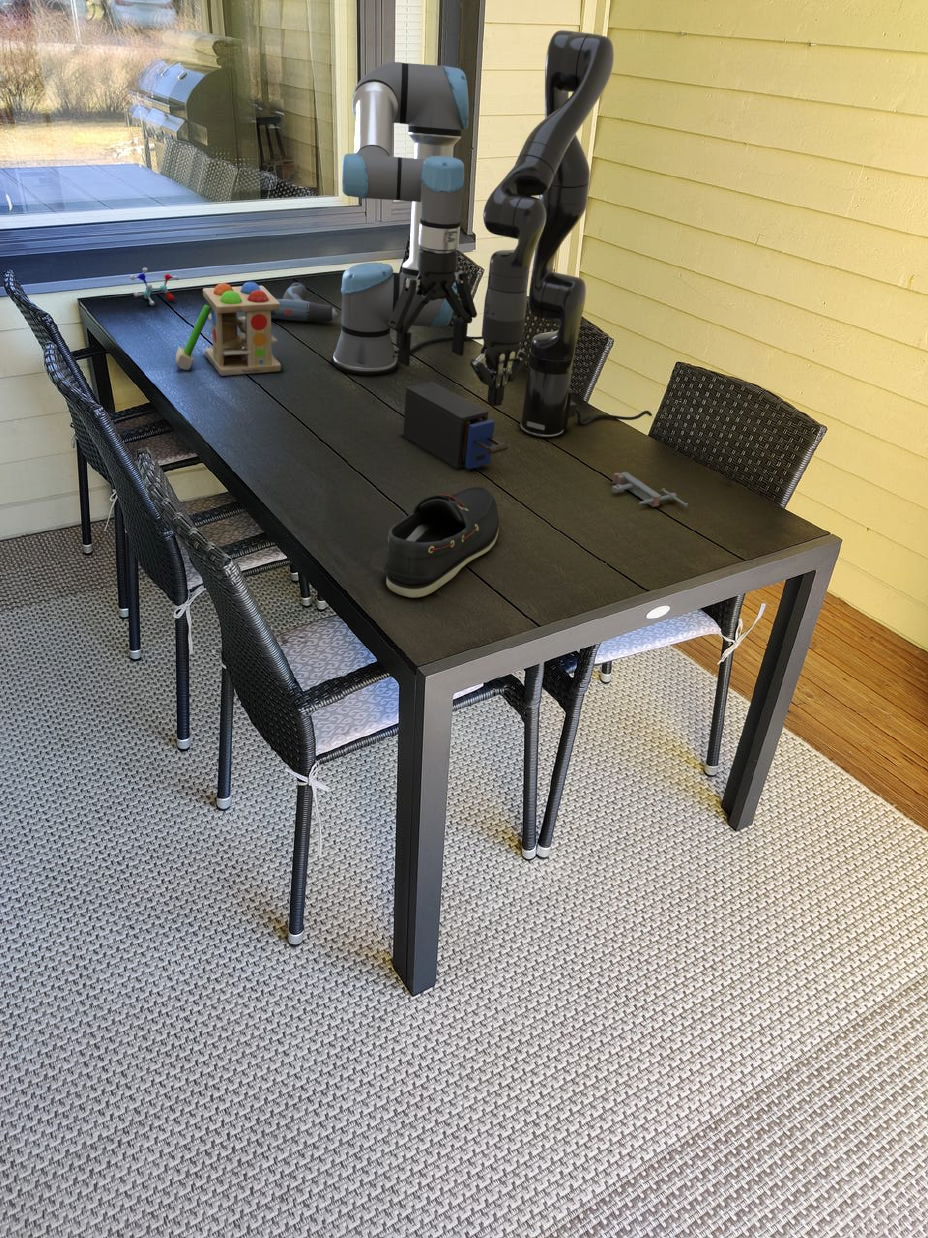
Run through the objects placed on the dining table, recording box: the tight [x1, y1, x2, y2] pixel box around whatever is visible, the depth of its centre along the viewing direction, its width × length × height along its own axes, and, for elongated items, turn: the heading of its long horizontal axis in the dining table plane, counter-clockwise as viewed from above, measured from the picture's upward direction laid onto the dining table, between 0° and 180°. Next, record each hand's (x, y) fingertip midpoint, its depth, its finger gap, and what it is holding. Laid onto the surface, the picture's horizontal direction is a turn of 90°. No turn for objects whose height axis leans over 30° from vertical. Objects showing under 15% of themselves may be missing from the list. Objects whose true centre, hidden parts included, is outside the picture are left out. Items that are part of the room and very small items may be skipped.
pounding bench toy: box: [174, 281, 282, 377], centre depth 225 cm, size 23×14×18 cm, turn 116°
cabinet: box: [403, 381, 489, 470], centre depth 199 cm, size 18×7×11 cm, turn 40°
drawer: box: [461, 417, 509, 470], centre depth 195 cm, size 22×6×9 cm, turn 40°
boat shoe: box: [383, 486, 500, 598], centre depth 165 cm, size 13×33×10 cm, turn 147°
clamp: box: [611, 471, 689, 509], centre depth 190 cm, size 15×2×10 cm
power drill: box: [271, 282, 338, 322], centre depth 265 cm, size 5×19×20 cm
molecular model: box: [129, 267, 180, 307], centre depth 263 cm, size 12×10×10 cm
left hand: (431, 358), depth 195 cm, fingers open, 13 cm apart
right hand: (494, 404), depth 185 cm, fingers closed
